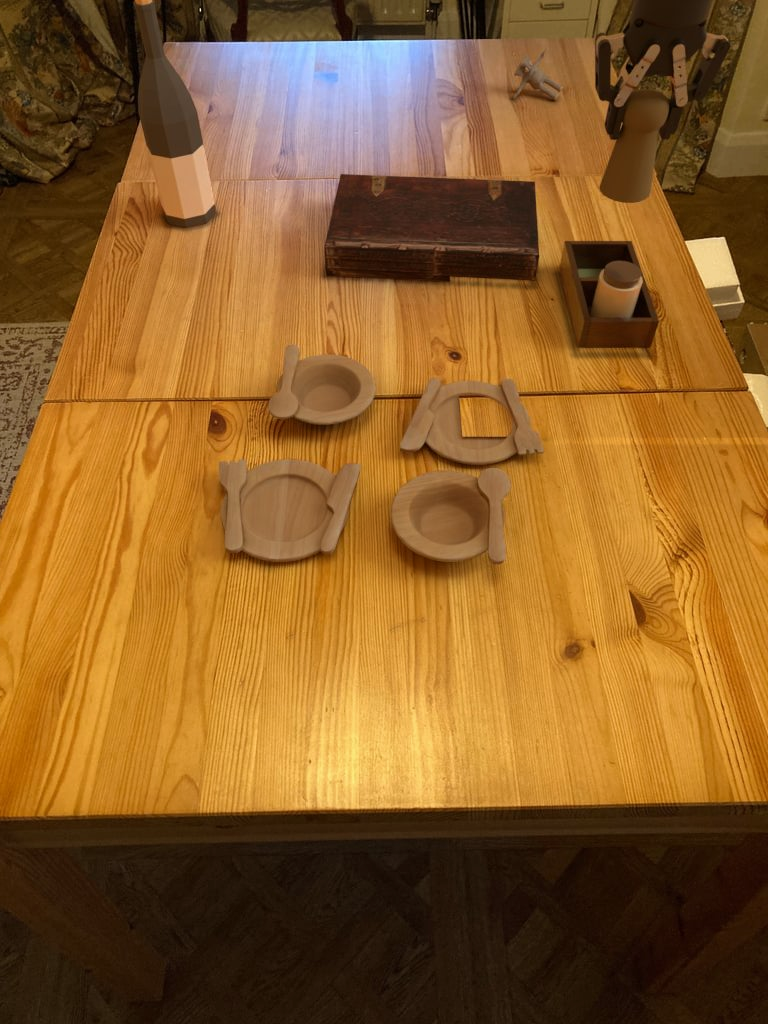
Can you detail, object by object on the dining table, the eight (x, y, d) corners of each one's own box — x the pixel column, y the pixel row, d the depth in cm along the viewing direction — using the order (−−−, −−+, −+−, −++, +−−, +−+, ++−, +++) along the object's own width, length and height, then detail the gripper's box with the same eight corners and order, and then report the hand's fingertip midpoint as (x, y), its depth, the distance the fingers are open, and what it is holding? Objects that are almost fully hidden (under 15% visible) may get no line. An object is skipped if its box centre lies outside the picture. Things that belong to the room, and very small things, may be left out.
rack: (622, 272, 108) (631, 240, 104) (648, 353, 97) (659, 321, 93) (558, 272, 108) (564, 240, 104) (576, 353, 97) (584, 321, 93)
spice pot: (624, 312, 101) (640, 258, 95) (632, 337, 98) (648, 283, 91) (584, 312, 101) (597, 258, 95) (591, 337, 98) (605, 283, 91)
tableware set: (192, 557, 78) (184, 533, 75) (260, 366, 96) (255, 340, 93) (540, 596, 75) (546, 572, 72) (542, 391, 93) (548, 366, 90)
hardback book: (326, 276, 108) (323, 244, 104) (342, 205, 119) (340, 174, 115) (534, 286, 106) (539, 254, 102) (530, 212, 118) (534, 181, 114)
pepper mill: (660, 196, 91) (688, 100, 83) (617, 207, 90) (640, 110, 81) (632, 172, 95) (656, 78, 86) (589, 182, 94) (610, 87, 85)
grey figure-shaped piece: (544, 112, 138) (503, 84, 138) (541, 125, 144) (501, 97, 144) (578, 62, 137) (536, 33, 137) (573, 77, 143) (533, 49, 143)
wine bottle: (159, 228, 115) (101, 0, 92) (167, 200, 120) (113, -23, 97) (213, 227, 115) (169, -1, 92) (219, 199, 120) (178, -24, 97)
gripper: (615, -26, 72) (580, 153, 85) (769, -27, 72) (709, 152, 85) (601, -52, 77) (570, 121, 90) (746, -53, 77) (693, 121, 90)
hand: (638, 136), depth 87 cm, fingers closed on pepper mill, 5 cm apart
